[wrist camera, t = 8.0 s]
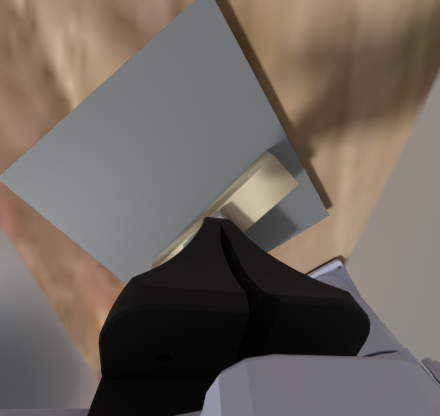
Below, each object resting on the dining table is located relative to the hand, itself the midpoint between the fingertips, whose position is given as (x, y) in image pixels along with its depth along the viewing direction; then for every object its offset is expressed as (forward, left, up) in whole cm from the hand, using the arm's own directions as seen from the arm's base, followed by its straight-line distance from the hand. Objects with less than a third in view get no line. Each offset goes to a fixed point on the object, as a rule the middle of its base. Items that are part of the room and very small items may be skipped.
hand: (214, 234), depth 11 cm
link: (-3, +1, -7) cm, 8 cm away
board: (+1, +3, -9) cm, 9 cm away
